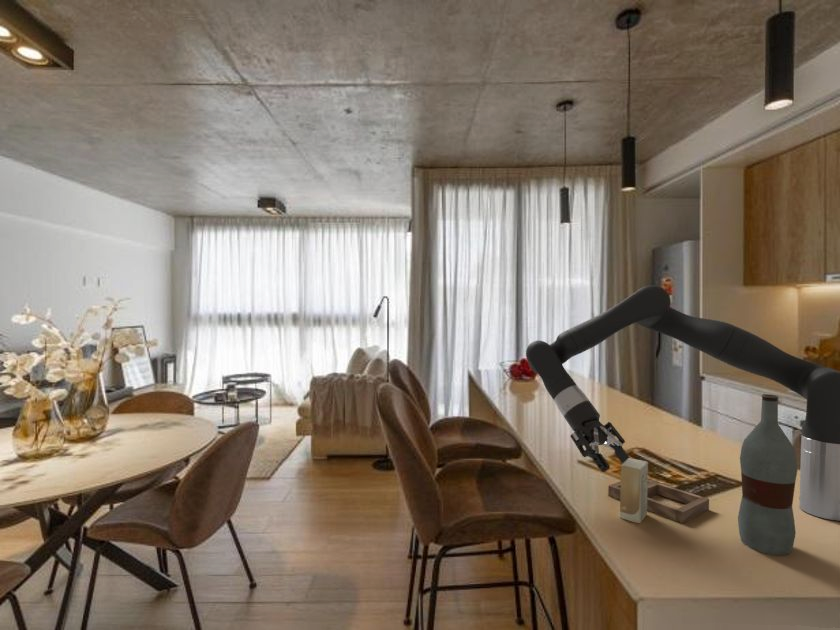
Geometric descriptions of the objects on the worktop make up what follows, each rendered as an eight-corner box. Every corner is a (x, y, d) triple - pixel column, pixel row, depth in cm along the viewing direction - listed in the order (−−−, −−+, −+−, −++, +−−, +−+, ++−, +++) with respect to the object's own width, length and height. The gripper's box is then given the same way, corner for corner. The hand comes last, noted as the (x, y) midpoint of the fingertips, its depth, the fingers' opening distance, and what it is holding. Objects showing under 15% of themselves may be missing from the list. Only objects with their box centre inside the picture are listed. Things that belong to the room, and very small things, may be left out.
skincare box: (627, 509, 111) (628, 457, 111) (647, 514, 109) (648, 461, 108) (618, 518, 106) (620, 464, 106) (639, 524, 104) (641, 468, 103)
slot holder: (708, 509, 112) (709, 498, 112) (682, 523, 104) (682, 512, 104) (635, 484, 126) (635, 475, 126) (608, 495, 119) (608, 485, 119)
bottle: (796, 544, 96) (802, 395, 95) (792, 562, 89) (798, 402, 88) (740, 529, 102) (745, 389, 101) (733, 545, 95) (737, 395, 94)
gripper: (567, 402, 113) (610, 464, 104) (602, 396, 122) (645, 452, 113) (548, 420, 118) (588, 481, 109) (584, 413, 126) (624, 468, 117)
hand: (617, 466), depth 111 cm, fingers open, 8 cm apart
